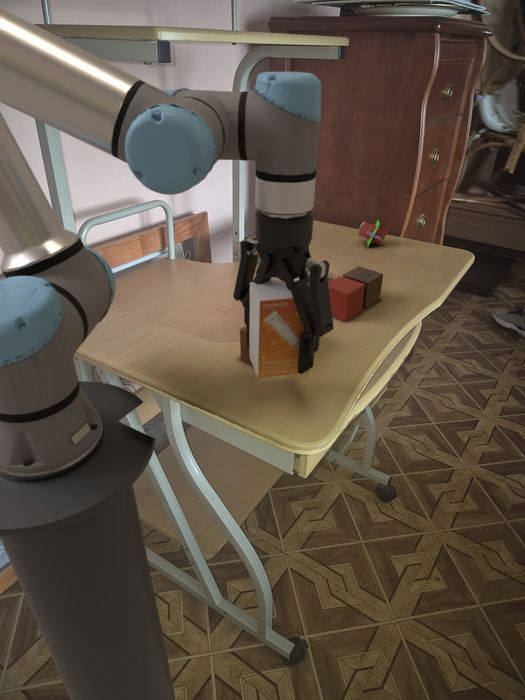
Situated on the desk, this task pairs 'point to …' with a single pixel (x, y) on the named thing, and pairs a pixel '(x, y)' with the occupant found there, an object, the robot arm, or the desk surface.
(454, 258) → the desk surface
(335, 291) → the cube
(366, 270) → the cube
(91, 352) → the desk surface
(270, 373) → the small box
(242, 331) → the cube
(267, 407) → the desk surface
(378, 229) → the geometric puzzle
